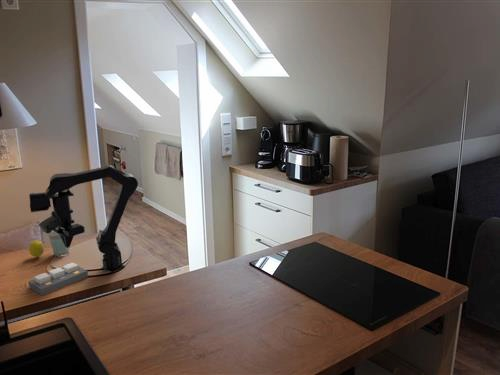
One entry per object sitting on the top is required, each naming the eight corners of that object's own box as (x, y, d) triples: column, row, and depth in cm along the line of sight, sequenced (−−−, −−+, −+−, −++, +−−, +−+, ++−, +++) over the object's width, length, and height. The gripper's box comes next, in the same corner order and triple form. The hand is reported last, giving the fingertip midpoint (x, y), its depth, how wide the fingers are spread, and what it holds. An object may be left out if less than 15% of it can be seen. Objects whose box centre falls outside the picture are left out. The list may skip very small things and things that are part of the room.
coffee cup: (68, 248, 195) (64, 223, 192) (75, 254, 189) (71, 228, 186) (48, 254, 190) (44, 228, 187) (54, 260, 184) (50, 233, 180)
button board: (74, 269, 174) (73, 263, 174) (88, 276, 168) (87, 270, 168) (29, 287, 161) (28, 280, 160) (42, 295, 155) (41, 288, 154)
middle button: (59, 272, 167) (58, 267, 167) (65, 275, 165) (64, 270, 164) (49, 276, 164) (48, 271, 164) (54, 279, 162) (54, 274, 161)
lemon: (47, 255, 189) (44, 237, 187) (40, 260, 184) (37, 242, 182) (35, 254, 190) (32, 237, 188) (28, 260, 184) (25, 242, 182)
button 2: (73, 267, 171) (72, 262, 171) (78, 269, 169) (77, 265, 168) (63, 270, 168) (62, 266, 168) (68, 273, 166) (68, 268, 165)
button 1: (45, 277, 163) (44, 272, 163) (50, 280, 161) (50, 275, 160) (34, 281, 160) (34, 276, 160) (40, 284, 158) (39, 279, 157)
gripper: (28, 209, 162) (34, 248, 166) (53, 219, 150) (59, 260, 154) (57, 201, 170) (62, 239, 174) (82, 210, 158) (88, 250, 163)
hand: (67, 247), depth 166 cm, fingers closed
